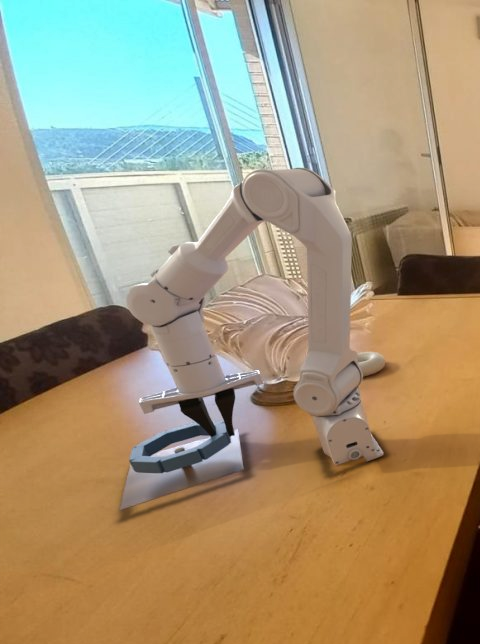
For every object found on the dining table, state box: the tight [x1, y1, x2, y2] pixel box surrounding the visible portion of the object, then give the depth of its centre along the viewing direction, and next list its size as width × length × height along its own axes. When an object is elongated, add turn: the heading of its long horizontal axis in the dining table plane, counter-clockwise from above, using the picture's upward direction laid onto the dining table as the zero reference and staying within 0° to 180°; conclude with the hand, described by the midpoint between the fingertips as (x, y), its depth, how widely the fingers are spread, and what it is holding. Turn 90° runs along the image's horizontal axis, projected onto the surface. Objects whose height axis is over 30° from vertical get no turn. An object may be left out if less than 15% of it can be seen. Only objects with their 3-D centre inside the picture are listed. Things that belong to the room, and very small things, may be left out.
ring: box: [128, 420, 231, 473], centre depth 74 cm, size 11×11×2 cm
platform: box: [118, 428, 245, 511], centre depth 74 cm, size 16×14×4 cm
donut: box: [357, 351, 387, 378], centre depth 110 cm, size 10×3×10 cm
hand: (224, 435), depth 77 cm, fingers closed on ring, 1 cm apart
